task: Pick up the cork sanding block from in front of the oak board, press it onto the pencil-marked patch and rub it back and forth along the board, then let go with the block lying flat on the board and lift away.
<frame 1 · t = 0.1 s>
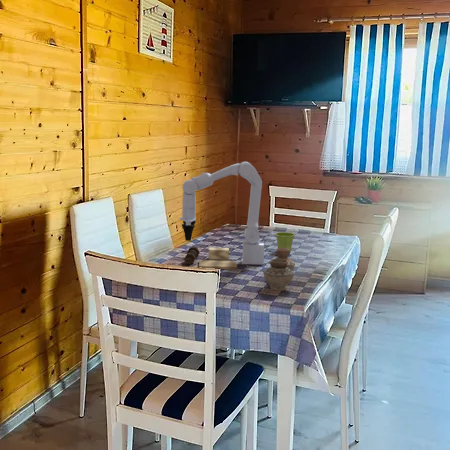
hand: (188, 238, 238), 10 cm above the table, tool pointing down, fingers open, 7 cm apart
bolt: (190, 262, 240), on the table
sanding block: (218, 259, 245), on the table
plant pot: (284, 252, 264), on the table
board: (217, 265, 233), on the table
pottery: (279, 284, 210), on the table
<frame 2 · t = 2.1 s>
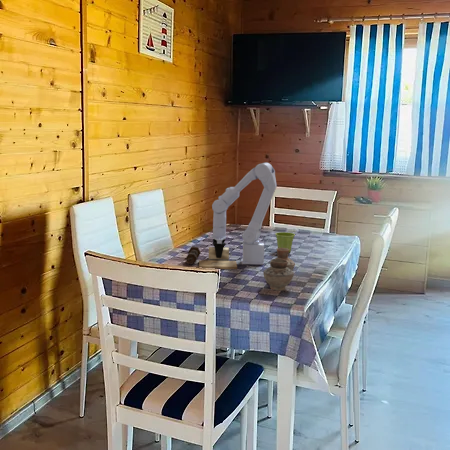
hand: (218, 256, 244), 1 cm above the table, tool pointing down, fingers closed on sanding block, 5 cm apart
sanding block: (218, 259, 245), on the table, touching gripper
everything else where it was.
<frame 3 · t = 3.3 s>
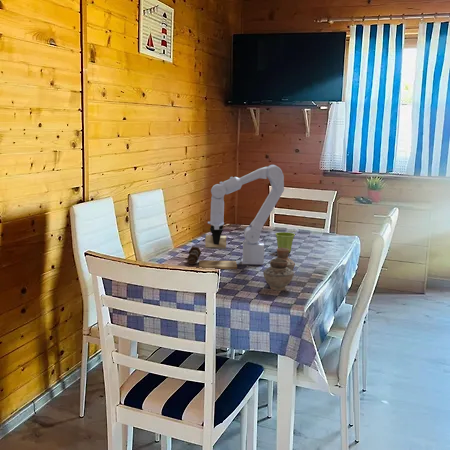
hand: (216, 243, 239), 8 cm above the table, tool pointing down, fingers closed on sanding block, 5 cm apart
sanding block: (215, 247, 239), point 6 cm above the table, touching gripper
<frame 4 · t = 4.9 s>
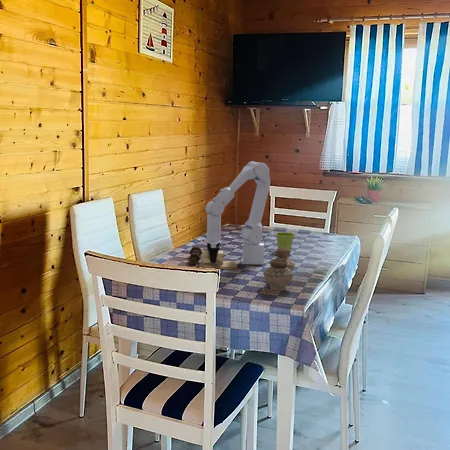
hand: (213, 260, 233), 2 cm above the table, tool pointing down, fingers closed on sanding block, 5 cm apart
sanding block: (212, 263, 233), point 1 cm above the table, touching gripper
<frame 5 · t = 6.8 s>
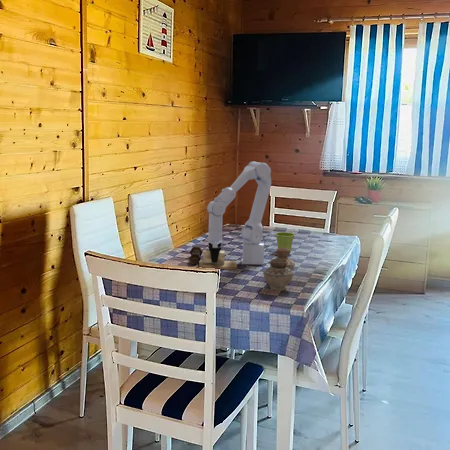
hand: (214, 260, 233), 2 cm above the table, tool pointing down, fingers closed on sanding block, 5 cm apart
sanding block: (213, 263, 233), point 1 cm above the table, touching gripper
when the fingers open (2 cm above the table, at t = 8.0 s): sanding block stays where it is, resting on board.
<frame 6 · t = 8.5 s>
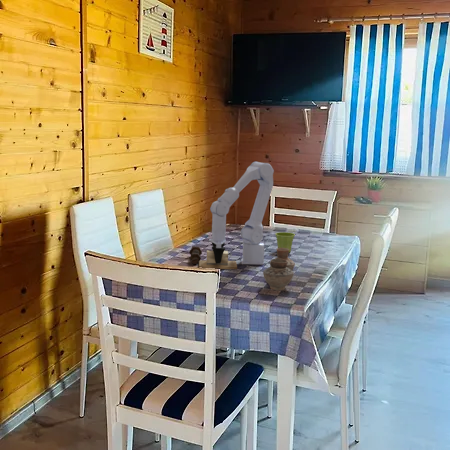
hand: (217, 260, 233), 2 cm above the table, tool pointing down, fingers open, 7 cm apart
sanding block: (217, 263, 233), point 1 cm above the table, touching board
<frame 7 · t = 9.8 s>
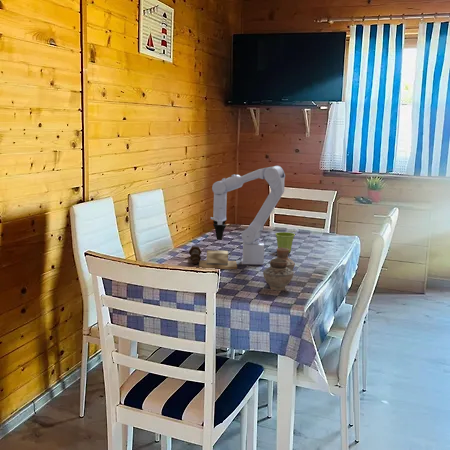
hand: (219, 238, 244), 9 cm above the table, tool pointing down, fingers open, 7 cm apart
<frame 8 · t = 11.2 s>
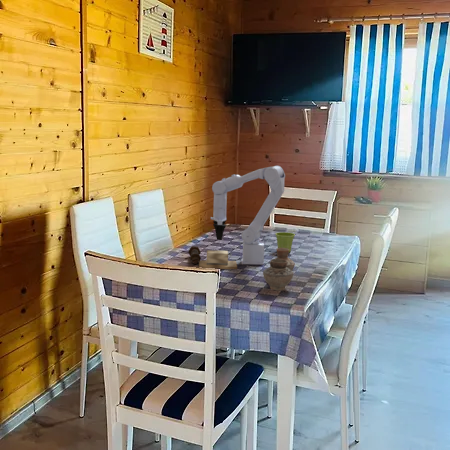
hand: (219, 238, 244), 9 cm above the table, tool pointing down, fingers open, 7 cm apart
at the end: sanding block touching board; sanding block 0.3 cm from the board (horizontally); sanding block tilted 0° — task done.
